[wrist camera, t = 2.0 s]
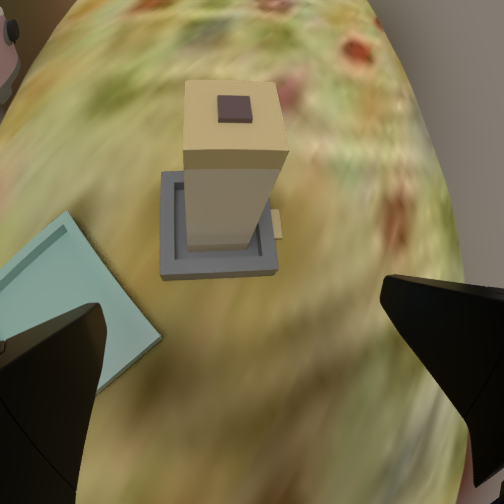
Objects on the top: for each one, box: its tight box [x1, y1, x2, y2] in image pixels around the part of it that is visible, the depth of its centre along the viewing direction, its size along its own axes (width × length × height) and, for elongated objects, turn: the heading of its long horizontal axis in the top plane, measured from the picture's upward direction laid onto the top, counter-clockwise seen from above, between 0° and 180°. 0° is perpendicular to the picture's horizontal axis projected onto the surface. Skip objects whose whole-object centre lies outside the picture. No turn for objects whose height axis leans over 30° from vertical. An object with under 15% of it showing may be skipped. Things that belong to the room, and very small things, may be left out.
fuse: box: [183, 80, 289, 252], centre depth 18 cm, size 4×4×12 cm
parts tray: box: [0, 210, 163, 395], centre depth 19 cm, size 12×12×2 cm
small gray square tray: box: [160, 171, 283, 281], centre depth 24 cm, size 8×9×2 cm
